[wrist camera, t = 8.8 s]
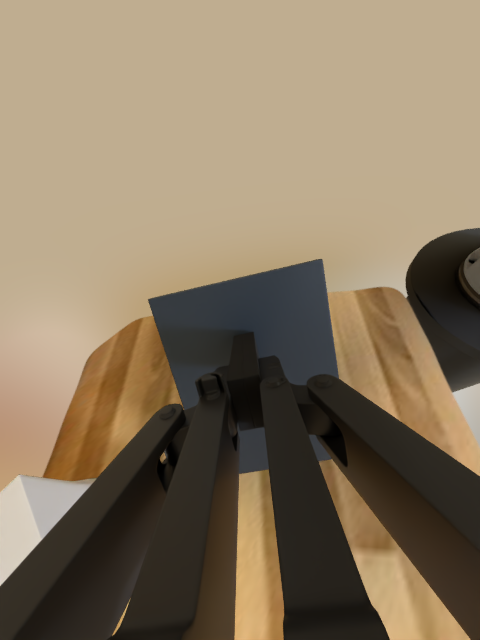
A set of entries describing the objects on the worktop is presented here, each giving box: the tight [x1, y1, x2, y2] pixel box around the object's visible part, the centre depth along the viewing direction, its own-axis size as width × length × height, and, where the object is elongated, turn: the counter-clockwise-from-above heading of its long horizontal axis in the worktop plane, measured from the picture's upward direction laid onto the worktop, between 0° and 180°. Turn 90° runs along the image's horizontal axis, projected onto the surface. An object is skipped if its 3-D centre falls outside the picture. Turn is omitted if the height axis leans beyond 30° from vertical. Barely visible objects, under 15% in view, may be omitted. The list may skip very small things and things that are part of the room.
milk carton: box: [0, 474, 97, 586], centre depth 19 cm, size 9×9×20 cm
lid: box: [148, 259, 339, 474], centre depth 18 cm, size 17×13×1 cm
